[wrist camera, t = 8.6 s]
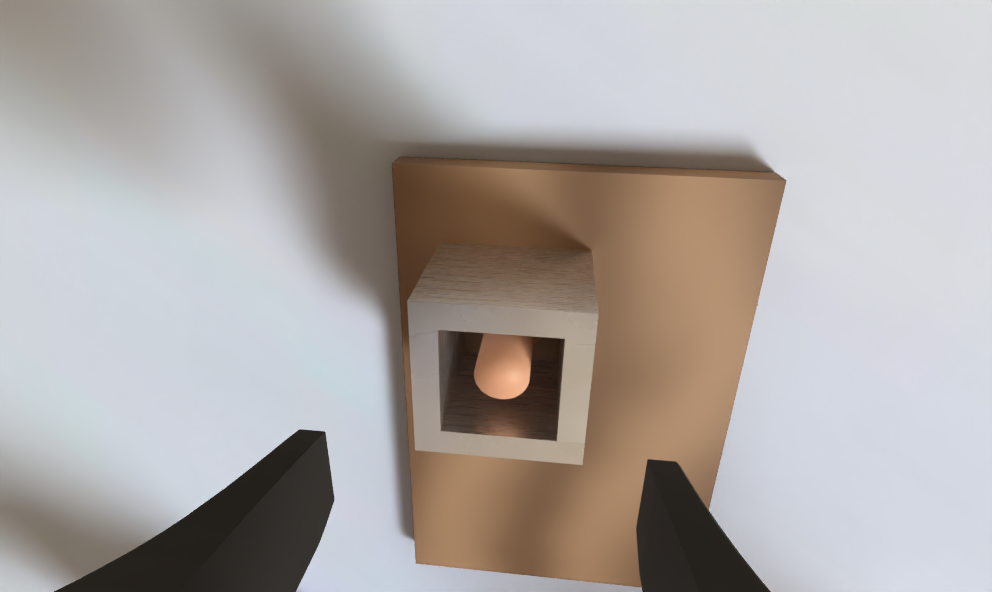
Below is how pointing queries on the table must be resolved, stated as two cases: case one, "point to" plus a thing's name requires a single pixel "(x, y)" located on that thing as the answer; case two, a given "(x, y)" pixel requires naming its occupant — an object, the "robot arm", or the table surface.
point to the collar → (511, 311)
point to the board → (618, 349)
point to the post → (504, 364)
